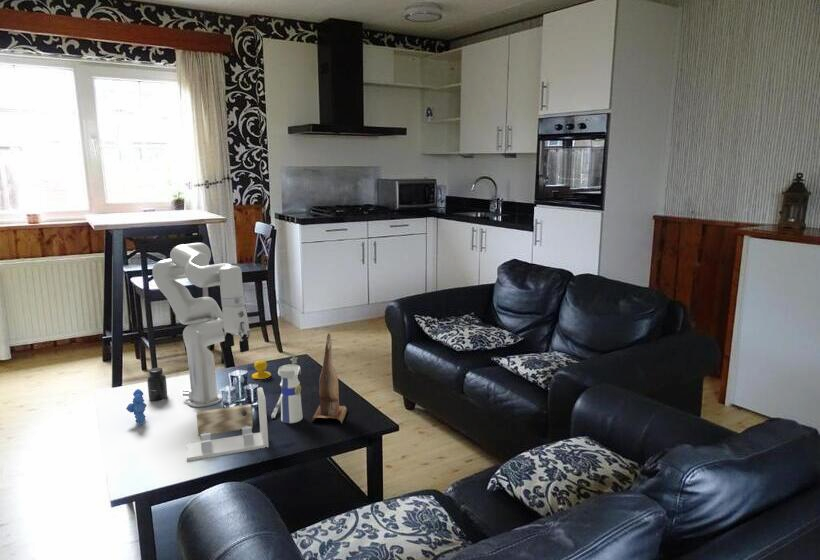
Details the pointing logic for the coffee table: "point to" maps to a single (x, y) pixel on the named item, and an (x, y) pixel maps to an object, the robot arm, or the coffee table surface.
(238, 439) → the hinge base
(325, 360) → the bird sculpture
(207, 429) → the door
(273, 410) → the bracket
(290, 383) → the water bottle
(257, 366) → the doorknob
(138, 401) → the grapes
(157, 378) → the supplement bottle
